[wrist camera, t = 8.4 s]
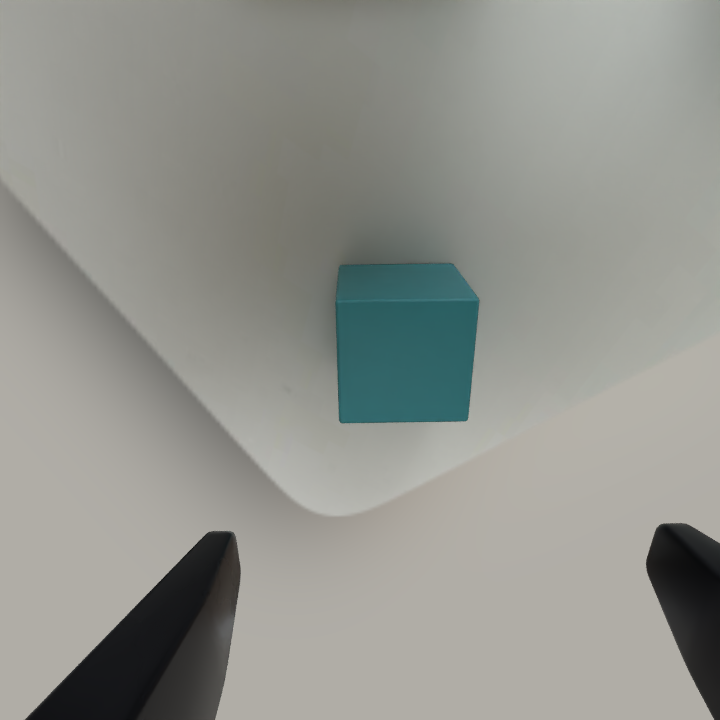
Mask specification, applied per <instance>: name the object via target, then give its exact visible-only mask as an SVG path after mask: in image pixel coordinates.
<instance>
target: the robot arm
mask: <svg viewBox="0 0 720 720" xmlns="http://www.w3.org/2000/svg"><path fill="white" fill-rule="evenodd" d="M646 568H647V573H648V576H649V578H650V581H651V583H652V586H653V588H654V590H655V593H656V595H657V598H658V600H659V602H660V605H661V607H662V610H663V612H664V614H665V617H666V619H667V622H668V624H669V626H670V629H671V631H672V633H673V636H674V638H675V641H676V643H677V645H678V648H679V650H680V653H681V655H682V657H683V659H684V661H685V663H686V666H687V668H688V670H689V672H690V674H691V676H692V678H693V680H694V682H695V684H696V686H697V688H698V690H699V692H700V694H701V696H702V697H703V699H704V701H705V703H706V705H707V707H708V708H709V711H710V712H711V714H712V716H713V718H714V720H720V543H718V542H716V541H715V540H713V539H712V538H710V537H708V536H706V535H705V534H703V533H702V532H700V531H698V530H697V529H695V528H693V527H691V526H690V525H687V524H682V523H676V524H675V523H674V524H673V523H670V524H661V525H659V526H658V527H657V529H656V531H655V534H654V537H653V540H652V543H651V547H650V550H649V553H648V556H647V560H646ZM240 574H241V573H240V562H239V555H238V548H237V542H236V537H235V534H234V533H233V532H231V531H212V532H209V533H207V534H206V535H205V536H204V537H203V538H202V539H201V540H200V541H199V542H198V543H197V544H196V545H195V546H194V547H193V548H192V549H191V550H190V551H189V552H188V553H187V554H186V555H185V556H184V557H183V558H182V559H181V560H180V561H179V562H178V563H177V564H176V566H174V567H173V568H172V570H170V571H169V573H168V574H167V575H166V576H165V577H164V578H163V579H162V580H161V581H160V582H159V583H158V584H157V585H156V586H155V587H154V588H153V589H152V590H151V591H150V592H149V593H148V594H147V595H146V596H145V597H144V598H143V599H142V600H141V601H140V602H139V603H138V604H137V605H136V606H135V608H134V609H132V610H131V611H130V612H129V614H128V615H127V616H126V617H125V618H124V619H123V620H122V621H121V622H120V623H119V624H118V625H117V626H116V627H115V628H114V629H113V630H112V631H111V632H110V633H109V634H108V635H107V636H106V637H105V638H104V639H103V640H102V641H101V642H100V643H99V644H98V645H97V646H96V647H95V649H93V650H92V651H91V652H90V654H88V656H87V657H86V658H85V659H84V660H83V661H82V662H81V663H80V664H79V665H78V666H77V667H76V668H75V669H74V670H73V671H72V672H71V673H70V674H69V675H68V676H67V677H66V678H65V679H64V680H63V681H62V682H61V683H60V684H59V685H58V686H57V687H56V688H55V689H54V690H53V691H52V692H51V694H50V695H48V697H47V698H46V699H45V700H44V701H43V702H42V703H41V704H40V705H39V706H38V707H37V708H36V709H35V710H34V711H33V712H32V713H31V714H30V715H29V716H28V717H27V718H26V719H25V720H215V717H216V714H217V710H218V706H219V702H220V698H221V694H222V689H223V686H224V681H225V675H226V670H227V665H228V658H229V651H230V645H231V638H232V632H233V625H234V618H235V612H236V605H237V598H238V592H239V585H240Z"/></svg>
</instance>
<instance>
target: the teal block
mask: <svg viewBox="0 0 720 720" xmlns="http://www.w3.org/2000/svg"><path fill="white" fill-rule="evenodd" d="M335 306H336V338H337V370H338V401H339V421H340V423H386V422H451V421H467V420H468V415H469V404H470V394H471V383H472V372H473V362H474V351H475V341H476V330H477V320H478V309H479V298H478V297H477V296H476V294H475V293H474V292H473V290H472V289H471V287H470V286H469V285H468V283H467V282H466V281H465V279H464V278H463V277H462V275H461V274H460V272H459V271H458V270H457V268H456V267H455V266H454V264H452V263H449V264H370V265H340V266H339V271H338V281H337V291H336V302H335Z"/></svg>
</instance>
